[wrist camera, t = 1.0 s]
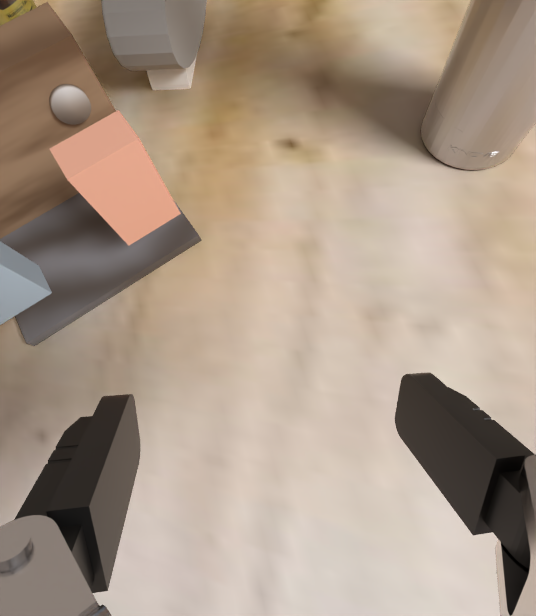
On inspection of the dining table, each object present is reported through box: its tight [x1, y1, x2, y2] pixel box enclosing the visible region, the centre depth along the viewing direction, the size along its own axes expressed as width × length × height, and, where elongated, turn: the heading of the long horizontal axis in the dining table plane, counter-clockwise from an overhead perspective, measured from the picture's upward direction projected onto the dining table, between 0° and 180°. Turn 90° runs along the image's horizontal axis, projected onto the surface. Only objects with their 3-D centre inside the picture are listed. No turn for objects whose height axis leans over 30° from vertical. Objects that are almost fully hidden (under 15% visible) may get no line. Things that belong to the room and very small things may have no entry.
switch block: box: [0, 2, 201, 346], centre depth 29 cm, size 17×18×13 cm
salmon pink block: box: [50, 110, 181, 245], centre depth 26 cm, size 6×5×8 cm
